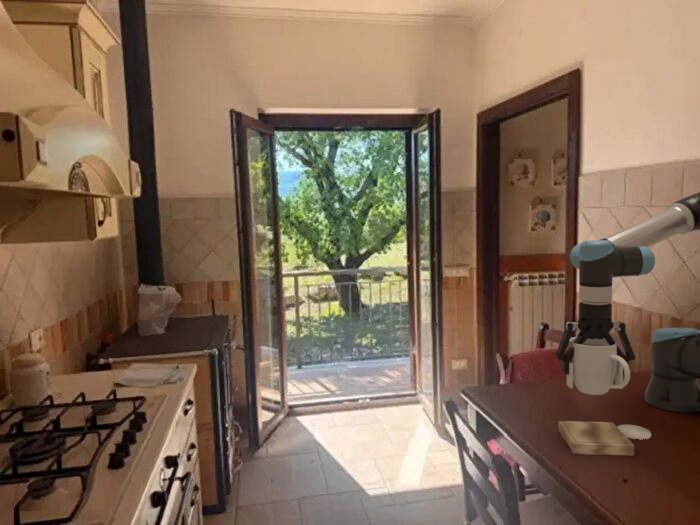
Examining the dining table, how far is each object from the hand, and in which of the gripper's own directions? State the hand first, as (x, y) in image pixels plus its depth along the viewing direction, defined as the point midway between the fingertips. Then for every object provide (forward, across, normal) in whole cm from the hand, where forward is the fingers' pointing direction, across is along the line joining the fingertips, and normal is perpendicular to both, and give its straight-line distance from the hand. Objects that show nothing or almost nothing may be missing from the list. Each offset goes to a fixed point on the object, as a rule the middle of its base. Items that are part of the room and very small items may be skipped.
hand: (594, 386), depth 131 cm
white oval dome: (+15, -12, -6) cm, 20 cm away
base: (+15, 0, 0) cm, 15 cm away
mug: (+2, -1, 0) cm, 2 cm away
